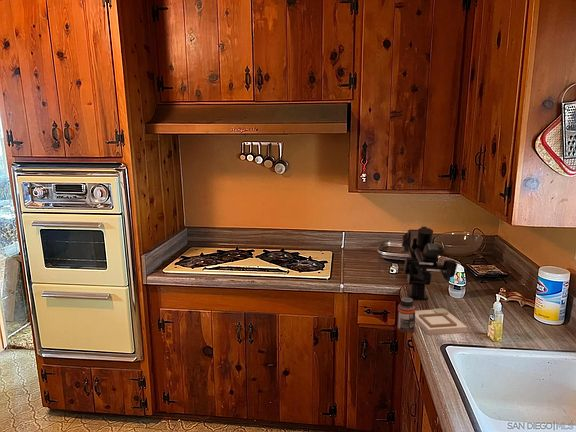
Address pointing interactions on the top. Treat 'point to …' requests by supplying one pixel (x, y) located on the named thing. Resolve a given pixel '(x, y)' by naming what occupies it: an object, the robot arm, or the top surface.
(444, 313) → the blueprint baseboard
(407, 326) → the supplement bottle
